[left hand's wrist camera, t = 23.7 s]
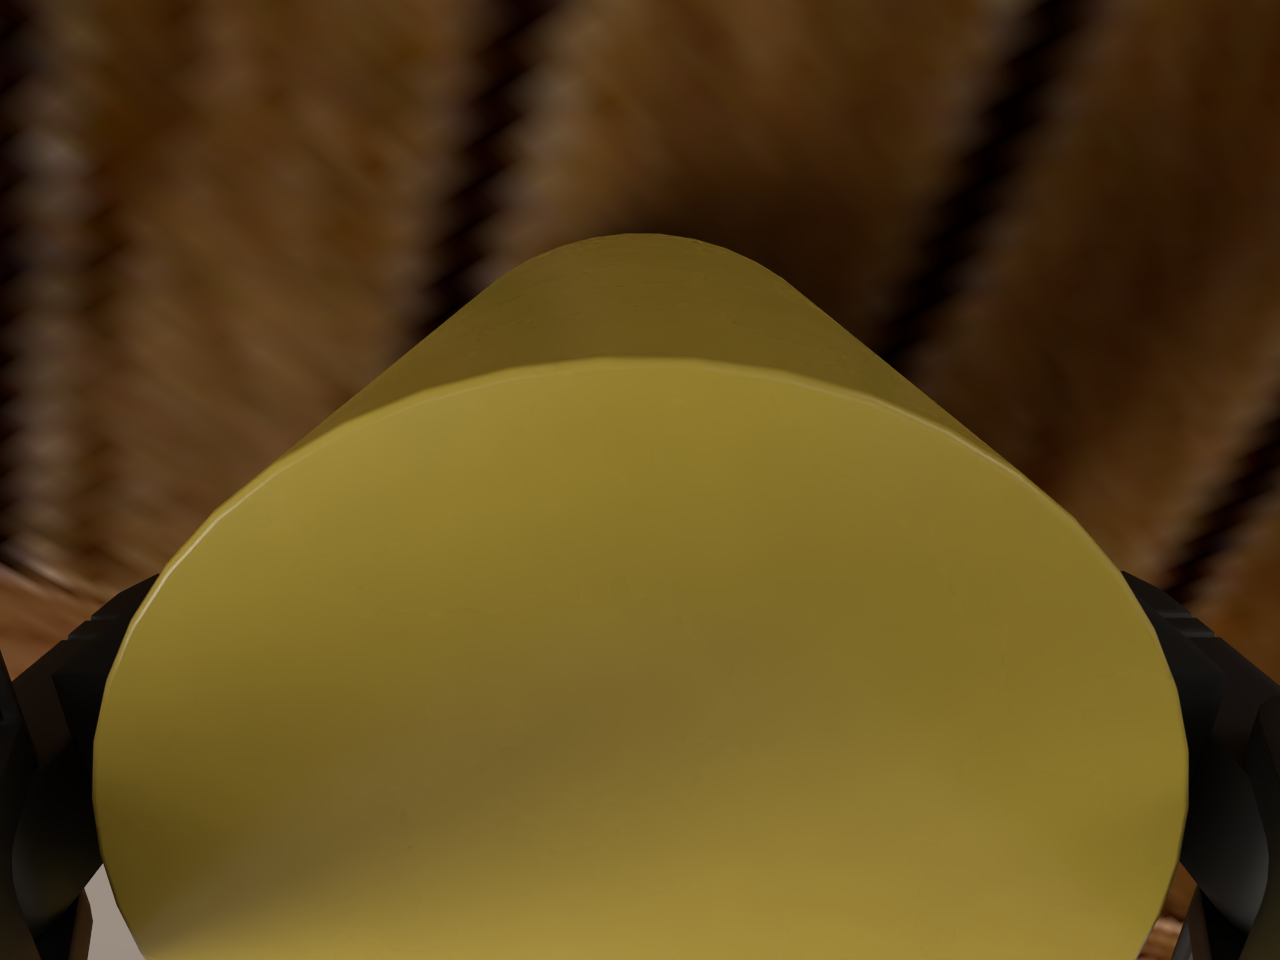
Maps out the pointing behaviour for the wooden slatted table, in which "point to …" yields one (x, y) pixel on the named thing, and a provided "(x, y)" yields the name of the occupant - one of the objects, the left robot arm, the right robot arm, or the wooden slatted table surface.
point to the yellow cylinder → (640, 662)
